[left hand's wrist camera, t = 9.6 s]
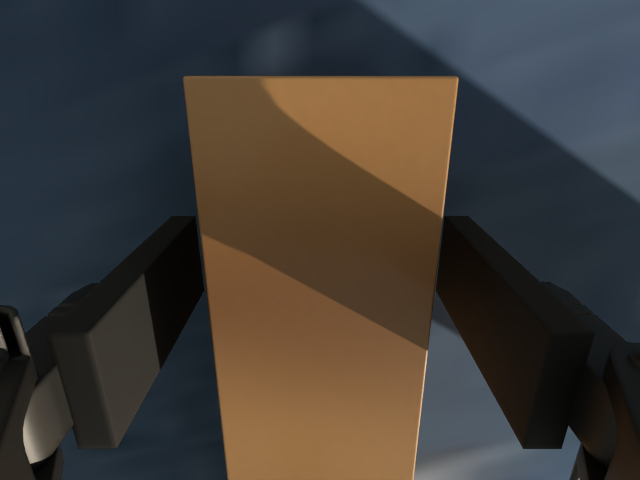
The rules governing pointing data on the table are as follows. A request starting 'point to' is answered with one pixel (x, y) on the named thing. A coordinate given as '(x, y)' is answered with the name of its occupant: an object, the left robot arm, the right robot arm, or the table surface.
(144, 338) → the left robot arm
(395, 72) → the table surface
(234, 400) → the bar
